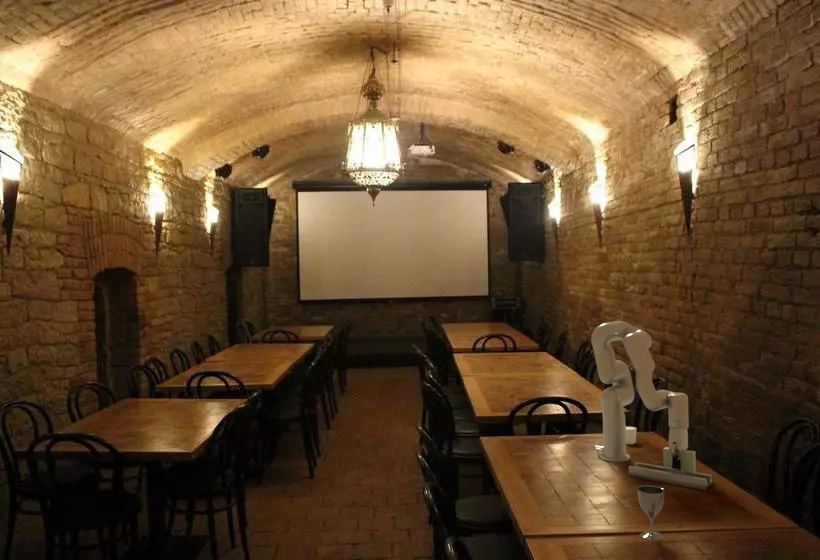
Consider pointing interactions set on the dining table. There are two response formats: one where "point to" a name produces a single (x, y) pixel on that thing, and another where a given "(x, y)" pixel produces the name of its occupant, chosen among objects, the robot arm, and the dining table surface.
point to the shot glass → (630, 435)
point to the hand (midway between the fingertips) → (679, 466)
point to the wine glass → (651, 507)
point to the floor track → (670, 475)
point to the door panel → (686, 459)
